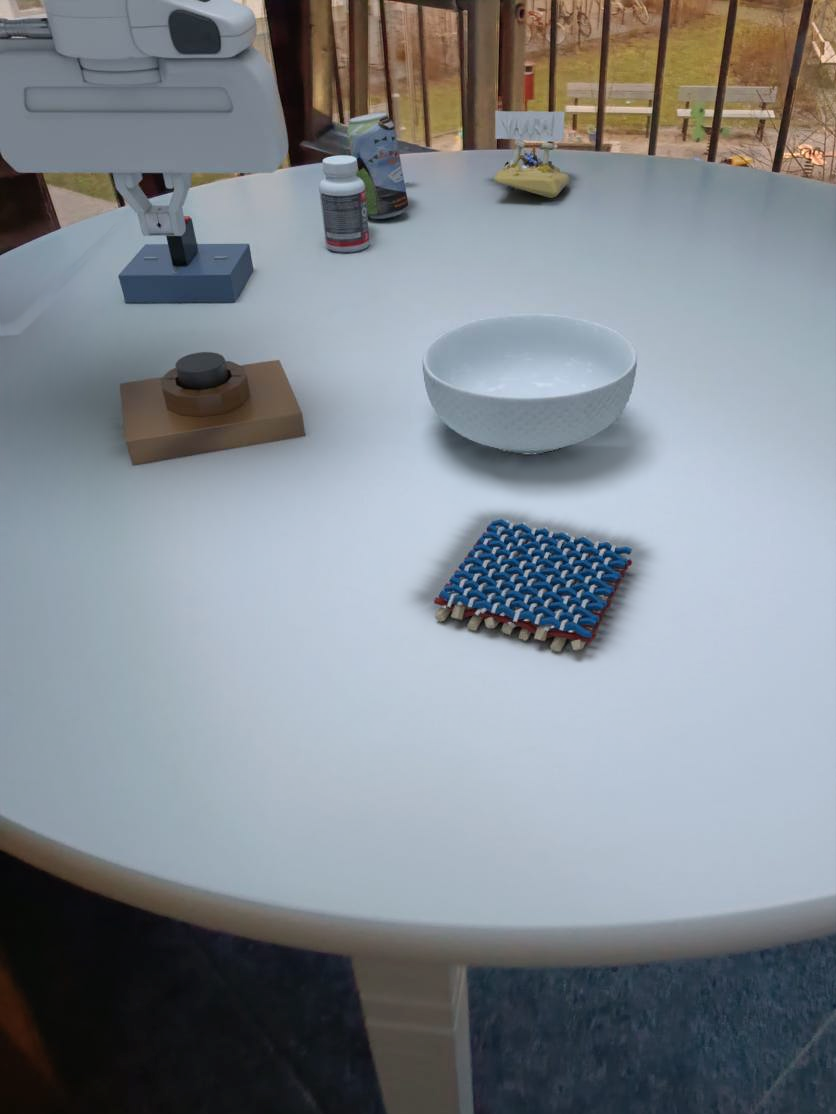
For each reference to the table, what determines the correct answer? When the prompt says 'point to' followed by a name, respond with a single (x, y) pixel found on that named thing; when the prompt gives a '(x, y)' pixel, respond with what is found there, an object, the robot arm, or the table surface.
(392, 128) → the beverage can
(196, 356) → the button
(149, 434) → the button box
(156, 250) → the panel
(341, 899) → the table surface
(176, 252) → the knob
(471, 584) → the woven mat
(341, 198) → the pill bottle
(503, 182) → the miniature sign display
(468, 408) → the cereal bowl
